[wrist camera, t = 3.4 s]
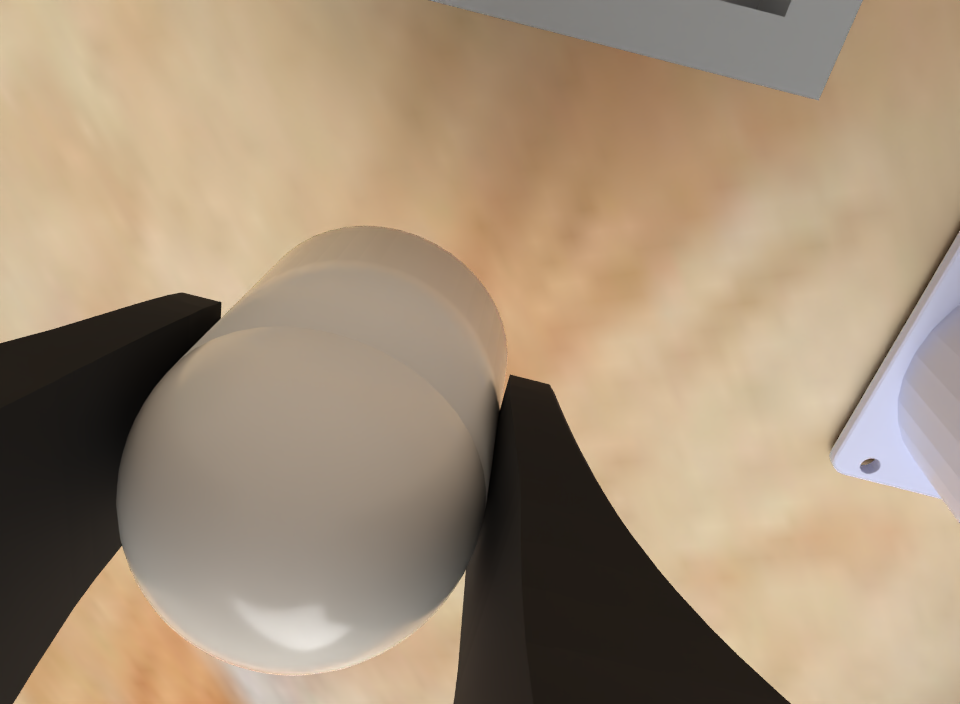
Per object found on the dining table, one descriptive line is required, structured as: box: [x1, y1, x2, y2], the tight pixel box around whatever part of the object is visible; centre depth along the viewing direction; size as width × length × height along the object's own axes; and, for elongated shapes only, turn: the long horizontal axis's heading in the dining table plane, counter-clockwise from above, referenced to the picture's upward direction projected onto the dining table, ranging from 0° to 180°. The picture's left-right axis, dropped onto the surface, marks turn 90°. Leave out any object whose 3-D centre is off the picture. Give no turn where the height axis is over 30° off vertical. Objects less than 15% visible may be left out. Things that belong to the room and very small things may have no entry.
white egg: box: [116, 226, 508, 676], centre depth 9 cm, size 4×4×6 cm
